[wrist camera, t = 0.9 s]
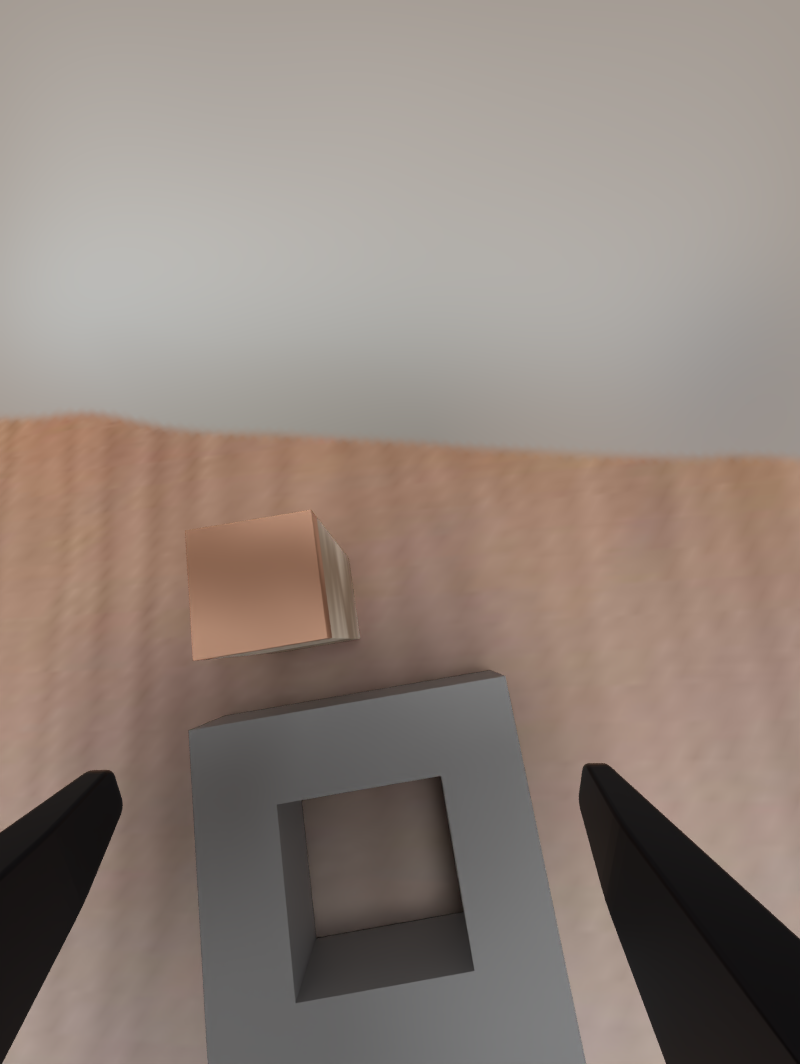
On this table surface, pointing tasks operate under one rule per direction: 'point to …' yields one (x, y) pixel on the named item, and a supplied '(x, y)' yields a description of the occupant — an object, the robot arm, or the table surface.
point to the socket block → (390, 951)
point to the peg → (268, 587)
